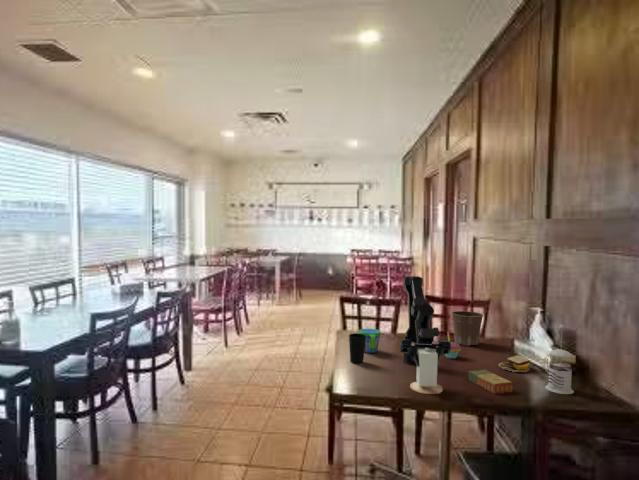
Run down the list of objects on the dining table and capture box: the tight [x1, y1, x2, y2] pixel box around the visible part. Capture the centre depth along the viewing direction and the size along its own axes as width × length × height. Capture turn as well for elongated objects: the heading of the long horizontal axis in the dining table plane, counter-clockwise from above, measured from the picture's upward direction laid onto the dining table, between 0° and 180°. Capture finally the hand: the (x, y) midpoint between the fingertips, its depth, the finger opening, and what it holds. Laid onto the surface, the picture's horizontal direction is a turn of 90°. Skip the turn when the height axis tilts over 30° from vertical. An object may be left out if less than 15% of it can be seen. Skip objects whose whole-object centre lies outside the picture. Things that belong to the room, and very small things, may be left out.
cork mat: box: [409, 381, 444, 395], centre depth 170 cm, size 12×12×1 cm
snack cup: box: [358, 328, 382, 354], centre depth 219 cm, size 16×10×10 cm
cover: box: [415, 348, 439, 386], centre depth 170 cm, size 6×6×13 cm
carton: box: [467, 369, 514, 394], centre depth 175 cm, size 8×16×4 cm, turn 17°
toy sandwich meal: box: [498, 355, 531, 373], centre depth 198 cm, size 12×14×5 cm
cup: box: [348, 333, 366, 365], centre depth 201 cm, size 8×8×12 cm
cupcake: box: [444, 331, 462, 359], centre depth 213 cm, size 9×8×12 cm
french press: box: [543, 324, 575, 395], centre depth 173 cm, size 10×12×25 cm
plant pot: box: [451, 310, 484, 347], centre depth 240 cm, size 16×16×16 cm
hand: (427, 366), depth 168 cm, fingers closed on cover, 6 cm apart
